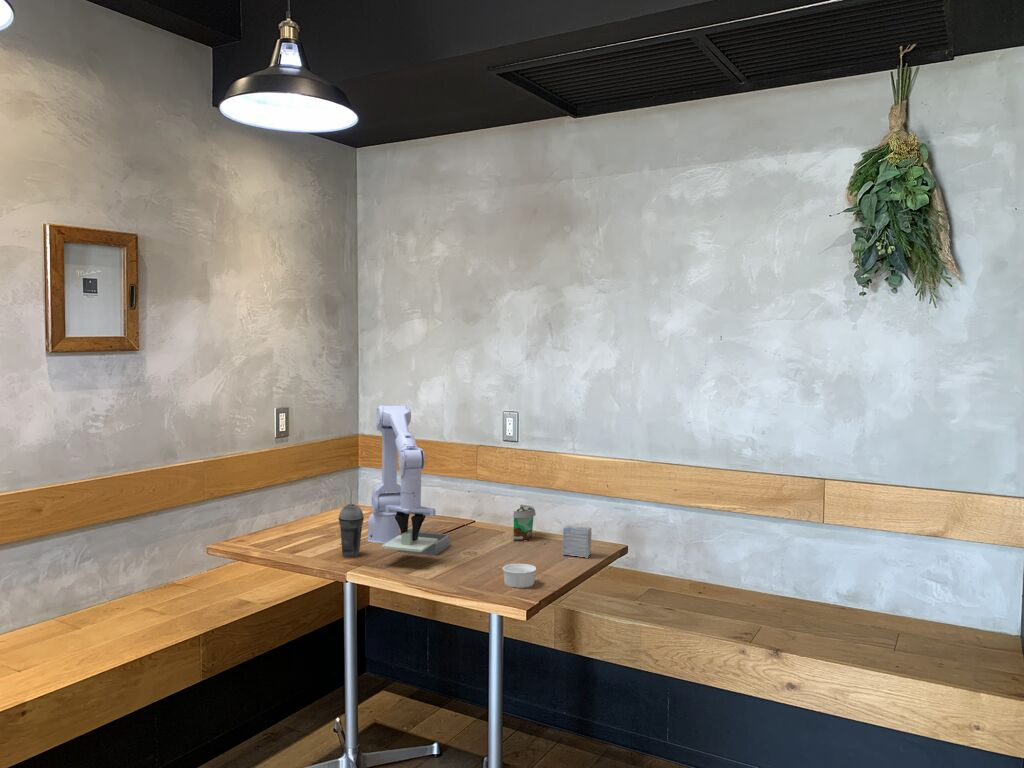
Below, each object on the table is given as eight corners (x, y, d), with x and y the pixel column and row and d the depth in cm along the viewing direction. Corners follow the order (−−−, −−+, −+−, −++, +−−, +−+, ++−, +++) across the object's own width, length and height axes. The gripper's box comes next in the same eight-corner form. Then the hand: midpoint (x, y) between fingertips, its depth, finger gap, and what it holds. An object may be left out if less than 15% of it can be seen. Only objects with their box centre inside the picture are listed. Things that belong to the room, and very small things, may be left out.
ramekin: (497, 586, 200) (497, 570, 200) (509, 577, 209) (510, 561, 208) (529, 590, 197) (529, 574, 197) (540, 581, 205) (540, 565, 205)
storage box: (398, 553, 230) (398, 540, 230) (414, 544, 241) (414, 531, 241) (435, 557, 226) (435, 543, 226) (449, 547, 238) (450, 534, 238)
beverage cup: (341, 562, 219) (342, 492, 218) (335, 555, 226) (336, 488, 225) (366, 559, 222) (367, 490, 222) (359, 553, 229) (360, 486, 228)
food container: (531, 543, 245) (532, 512, 245) (512, 542, 247) (513, 511, 246) (537, 535, 257) (538, 505, 257) (519, 533, 259) (520, 504, 258)
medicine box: (591, 555, 233) (592, 527, 233) (587, 559, 229) (588, 530, 228) (566, 552, 236) (566, 524, 235) (562, 556, 231) (562, 527, 231)
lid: (381, 549, 214) (381, 535, 213) (399, 538, 225) (399, 525, 225) (421, 553, 210) (421, 539, 210) (437, 542, 222) (437, 528, 222)
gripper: (381, 492, 215) (380, 540, 216) (429, 496, 211) (428, 545, 212) (391, 488, 222) (391, 534, 222) (438, 491, 218) (437, 539, 219)
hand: (409, 539), depth 218 cm, fingers closed on lid, 2 cm apart
